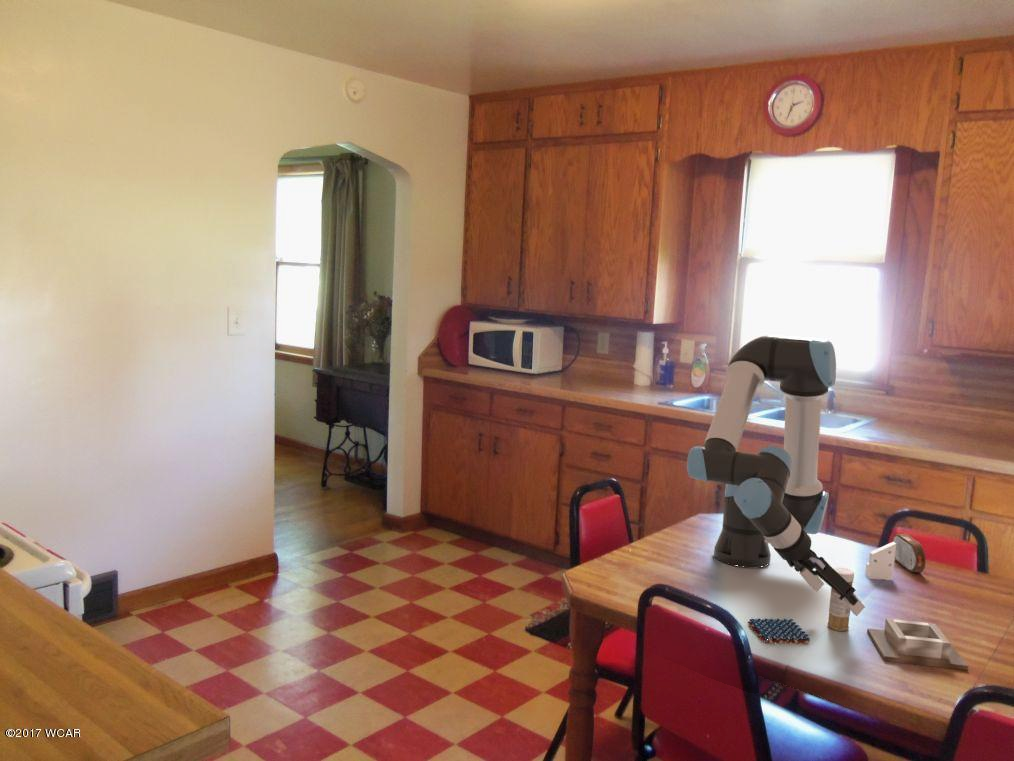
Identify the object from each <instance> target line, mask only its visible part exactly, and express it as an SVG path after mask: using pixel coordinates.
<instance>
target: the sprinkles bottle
mask: <svg viewBox="0 0 1014 761" xmlns="http://www.w3.org/2000/svg"><path fill="white" fill-rule="evenodd" d="M833 569H834V570H835V571H836V572H837V573H838V574H839V575H840V576H841V577H843V578H844V579H845V580H846V581H847V582H848V583H849V584H850V585H851V586H852V587H853V583H854V579H855V572H854V570H851V569H849V568H845V567H834V568H833ZM830 588H831V587H830ZM839 598H840V597H839V594H838V593H837V592H836V591H835V590H834V589H833V588H831V589H830V599H829V605H828V606H829V607H828V620H827V621H828V622H827V626H828V627H829V628H830V629H832V630H834V631H839V632H846V631H848V630H849V624H850V614H851V610H850V609H849V607H848V606H847V605H846V604H845V603H844V602H843V600H840V599H839Z"/></svg>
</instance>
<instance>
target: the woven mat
mask: <svg viewBox="0 0 1014 761" xmlns="http://www.w3.org/2000/svg"><path fill="white" fill-rule="evenodd" d="M747 624H748V625H749V628H751V627H752V628H753V629H752V628H751V629H752V631H754V633H755V632H756V633H757V634H758V635H757V634H756V633H755V634H756V635H757V637H758V638H759V637H760V638H759V639H760V640H761V641H762V640H763V641H766V643H769V642H770V643H769V644H773V643H774V642H775V643H776V642H778V643H779V644H780V643H781V644H788V643H789V644H800V645H802V644H803V643H804V644H806V645H807V644H809V642H810V640H811V639H810V637H809V635H808V634H807V633H806V631H804V630H803V628H801V627H800V625H798V624H797V622H795V621H794V619H792V618H790V619H789V618H787V619H786V618H781V619H780V618H750V619H749V621H747ZM750 625H751V626H750ZM767 639H768V640H767ZM763 641H762V642H763ZM772 642H773V643H772ZM802 642H803V643H802ZM775 643H774V644H775ZM778 643H776V644H775V645H778Z"/></svg>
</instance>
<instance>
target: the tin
mask: <svg viewBox="0 0 1014 761" xmlns="http://www.w3.org/2000/svg"><path fill="white" fill-rule="evenodd" d="M892 542H895V543H896V550H895V560H894V561H896V562H897V563H898V564H899V565H901V566H902V567H903V568H904V567H905V568H904V569H906V570H907V571H908V570H909V571H908V572H910V573H919V572H920V574H922V572H923V571H924V570H925V567H926V563H927V562H926V561H927V560H926V554H925V550H924V547H923V546H922V544H921V543H920V542H919V541H918V540H916V539H915V538H914V537H912V536H910V535H909V534H907V533H896V534H895V535H893V537H892Z"/></svg>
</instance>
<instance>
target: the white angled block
mask: <svg viewBox="0 0 1014 761" xmlns="http://www.w3.org/2000/svg"><path fill="white" fill-rule="evenodd" d="M895 550H896V543H895V542H893V541H892V542H890V543H887V544H885V545H883V546H881V547H878V548H875V549H873V550H871V551H870V552H869V558H868V562H866V563H865V572H864V573H865V575H866V576H867V577H868V579H871V580H881V579H886V580H885V581H893V577H894V569H895V561H896V560H895Z"/></svg>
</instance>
